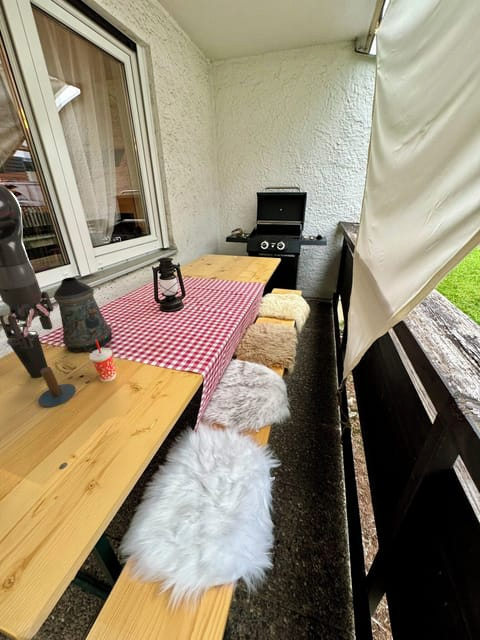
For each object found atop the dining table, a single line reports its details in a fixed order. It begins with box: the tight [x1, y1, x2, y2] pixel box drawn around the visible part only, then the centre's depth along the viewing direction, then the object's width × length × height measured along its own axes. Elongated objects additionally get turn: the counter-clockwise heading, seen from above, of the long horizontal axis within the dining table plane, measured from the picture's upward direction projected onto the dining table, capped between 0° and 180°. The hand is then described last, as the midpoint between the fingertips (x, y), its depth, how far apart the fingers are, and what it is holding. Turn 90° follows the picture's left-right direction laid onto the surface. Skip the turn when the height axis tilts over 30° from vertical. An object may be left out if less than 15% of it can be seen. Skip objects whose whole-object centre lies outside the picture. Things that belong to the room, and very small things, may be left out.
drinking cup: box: [6, 328, 49, 379], centre depth 79 cm, size 8×8×20 cm
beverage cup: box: [88, 339, 117, 383], centre depth 78 cm, size 6×6×14 cm
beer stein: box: [53, 276, 113, 354], centre depth 95 cm, size 16×19×25 cm
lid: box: [37, 366, 77, 409], centre depth 72 cm, size 9×9×10 cm
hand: (38, 337), depth 68 cm, fingers open, 8 cm apart
